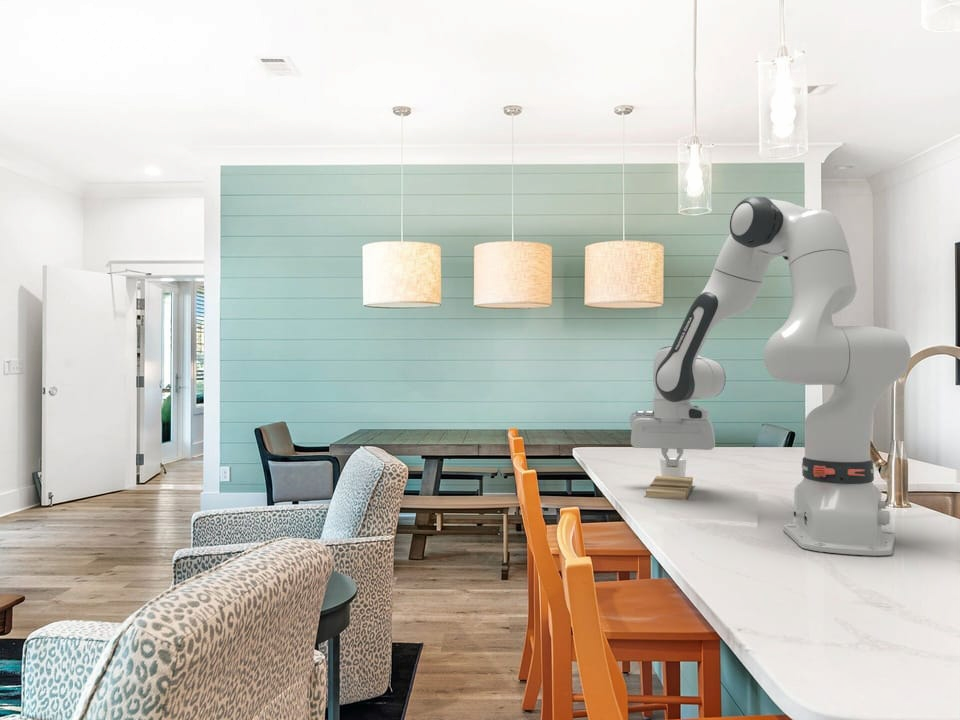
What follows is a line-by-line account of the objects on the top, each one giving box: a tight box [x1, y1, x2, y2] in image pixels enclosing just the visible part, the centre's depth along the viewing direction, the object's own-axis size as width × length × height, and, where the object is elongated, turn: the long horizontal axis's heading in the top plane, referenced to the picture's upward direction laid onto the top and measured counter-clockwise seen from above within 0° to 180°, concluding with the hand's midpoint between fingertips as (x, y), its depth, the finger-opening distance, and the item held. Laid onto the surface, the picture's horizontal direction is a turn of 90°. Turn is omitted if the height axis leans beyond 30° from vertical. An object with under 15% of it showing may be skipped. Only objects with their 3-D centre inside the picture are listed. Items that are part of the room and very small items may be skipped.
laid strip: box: [645, 484, 688, 501], centre depth 172 cm, size 7×9×2 cm
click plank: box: [649, 475, 694, 494], centre depth 181 cm, size 12×9×2 cm
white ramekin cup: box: [659, 456, 687, 477], centre depth 193 cm, size 7×7×7 cm
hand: (672, 467), depth 180 cm, fingers closed
